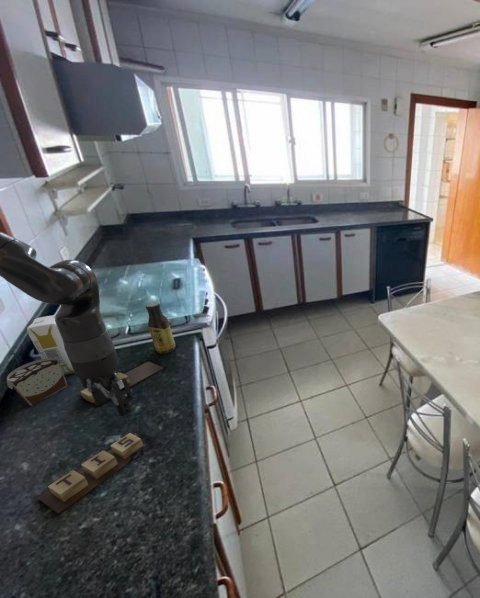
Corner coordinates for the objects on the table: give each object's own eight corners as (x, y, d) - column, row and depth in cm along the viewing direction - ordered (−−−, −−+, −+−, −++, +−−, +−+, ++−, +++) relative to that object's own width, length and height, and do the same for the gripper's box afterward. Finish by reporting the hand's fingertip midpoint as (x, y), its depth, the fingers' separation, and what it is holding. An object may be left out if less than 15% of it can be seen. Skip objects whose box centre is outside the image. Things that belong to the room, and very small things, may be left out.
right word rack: (96, 406, 97) (93, 397, 95) (80, 398, 99) (76, 389, 98) (164, 369, 114) (162, 361, 112) (149, 363, 116) (146, 355, 115)
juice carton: (50, 380, 105) (21, 329, 97) (58, 365, 112) (32, 317, 103) (80, 373, 108) (55, 324, 100) (87, 359, 115) (64, 312, 107)
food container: (57, 379, 105) (43, 354, 101) (73, 382, 104) (59, 356, 100) (9, 407, 94) (-9, 379, 90) (26, 410, 93) (8, 383, 89)
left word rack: (59, 515, 69) (54, 505, 68) (38, 500, 72) (32, 489, 70) (155, 445, 86) (152, 435, 85) (135, 434, 89) (132, 425, 87)
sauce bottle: (153, 352, 122) (135, 305, 114) (169, 344, 127) (153, 298, 119) (165, 357, 120) (148, 309, 111) (181, 348, 125) (166, 301, 117)
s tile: (124, 459, 81) (121, 451, 80) (113, 452, 82) (109, 445, 81) (143, 445, 85) (141, 438, 84) (132, 439, 86) (129, 432, 85)
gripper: (50, 351, 71) (76, 409, 77) (92, 370, 66) (115, 429, 73) (91, 335, 77) (112, 389, 84) (132, 351, 73) (150, 407, 79)
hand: (114, 408), depth 78 cm, fingers open, 8 cm apart
